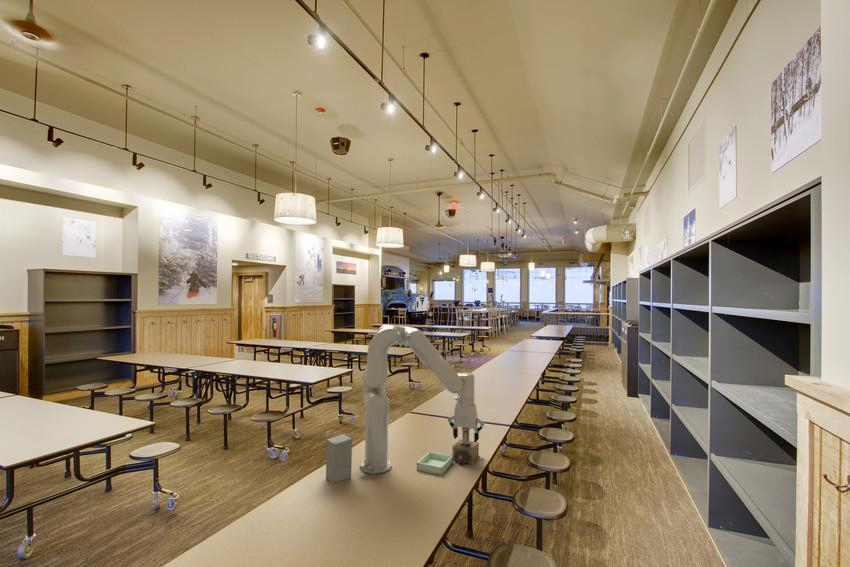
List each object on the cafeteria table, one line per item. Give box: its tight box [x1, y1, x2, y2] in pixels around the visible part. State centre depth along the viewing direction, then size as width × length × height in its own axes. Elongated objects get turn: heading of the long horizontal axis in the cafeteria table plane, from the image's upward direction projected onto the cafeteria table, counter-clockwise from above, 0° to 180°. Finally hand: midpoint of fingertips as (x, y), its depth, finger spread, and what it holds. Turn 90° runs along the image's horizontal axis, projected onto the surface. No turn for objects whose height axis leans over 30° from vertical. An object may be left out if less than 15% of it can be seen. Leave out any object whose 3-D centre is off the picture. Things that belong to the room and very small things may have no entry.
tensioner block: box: [452, 439, 480, 465], centre depth 171 cm, size 13×9×6 cm
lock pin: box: [461, 427, 471, 447], centre depth 173 cm, size 4×4×14 cm
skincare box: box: [325, 433, 353, 485], centre depth 152 cm, size 8×7×16 cm
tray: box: [416, 451, 454, 476], centre depth 163 cm, size 13×11×3 cm
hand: (465, 439), depth 173 cm, fingers open, 9 cm apart
